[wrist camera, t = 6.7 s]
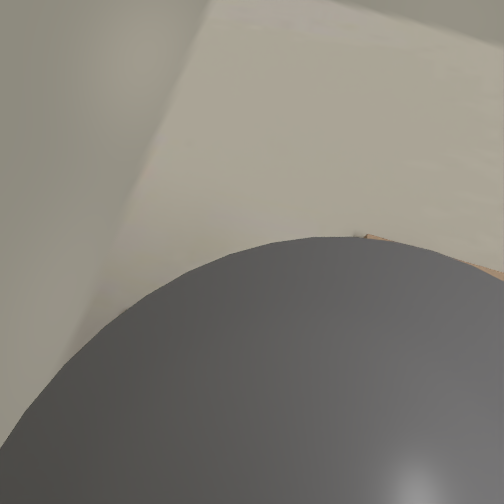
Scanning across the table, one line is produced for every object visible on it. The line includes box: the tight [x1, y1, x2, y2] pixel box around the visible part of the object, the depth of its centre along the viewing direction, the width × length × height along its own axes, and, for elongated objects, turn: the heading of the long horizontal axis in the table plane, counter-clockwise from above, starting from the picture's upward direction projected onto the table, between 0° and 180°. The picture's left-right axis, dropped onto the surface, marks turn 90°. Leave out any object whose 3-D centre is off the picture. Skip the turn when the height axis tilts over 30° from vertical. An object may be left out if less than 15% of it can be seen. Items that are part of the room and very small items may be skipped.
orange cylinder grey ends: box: [0, 237, 504, 504], centre depth 8 cm, size 6×6×12 cm
